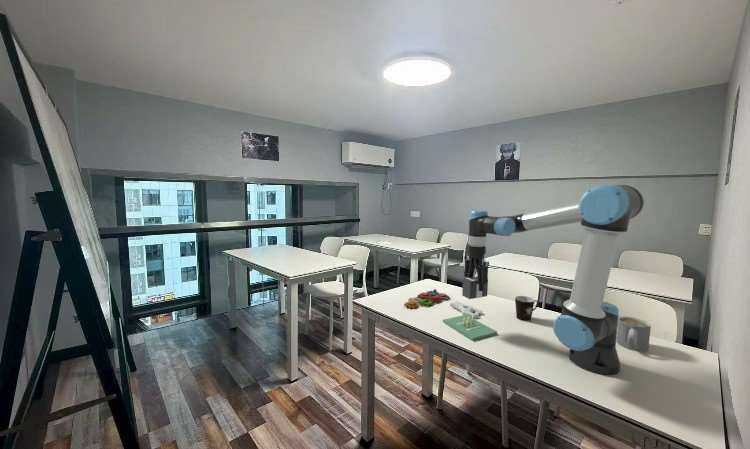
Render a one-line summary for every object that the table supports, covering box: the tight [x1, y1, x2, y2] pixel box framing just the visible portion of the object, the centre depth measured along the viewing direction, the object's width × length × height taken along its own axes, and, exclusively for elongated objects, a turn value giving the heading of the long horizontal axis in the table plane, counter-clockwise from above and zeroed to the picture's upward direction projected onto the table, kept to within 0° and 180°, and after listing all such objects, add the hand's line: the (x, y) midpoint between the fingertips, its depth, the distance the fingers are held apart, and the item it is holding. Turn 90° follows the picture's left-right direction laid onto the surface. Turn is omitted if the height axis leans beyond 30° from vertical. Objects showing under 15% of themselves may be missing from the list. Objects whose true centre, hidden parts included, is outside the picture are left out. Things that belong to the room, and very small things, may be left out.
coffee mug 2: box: [616, 316, 652, 353], centre depth 121 cm, size 13×10×10 cm
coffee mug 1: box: [514, 295, 540, 322], centre depth 148 cm, size 12×9×10 cm
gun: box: [449, 300, 483, 319], centre depth 157 cm, size 18×3×10 cm
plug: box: [461, 276, 489, 300], centre depth 136 cm, size 5×10×8 cm, turn 113°
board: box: [442, 314, 498, 342], centre depth 138 cm, size 20×14×5 cm
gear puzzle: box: [403, 288, 451, 309], centre depth 172 cm, size 31×16×4 cm, turn 130°
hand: (474, 295), depth 137 cm, fingers closed on plug, 5 cm apart
